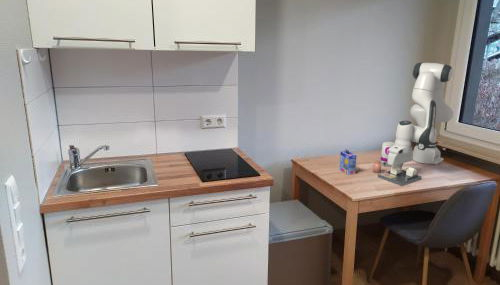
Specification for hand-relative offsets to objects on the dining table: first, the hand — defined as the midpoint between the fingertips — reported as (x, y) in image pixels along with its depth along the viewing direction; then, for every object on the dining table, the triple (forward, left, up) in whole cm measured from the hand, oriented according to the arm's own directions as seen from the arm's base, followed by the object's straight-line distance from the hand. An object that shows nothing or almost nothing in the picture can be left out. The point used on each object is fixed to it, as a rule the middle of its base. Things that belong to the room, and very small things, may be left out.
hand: (398, 170), depth 221 cm
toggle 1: (+3, 0, -2) cm, 4 cm away
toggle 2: (-2, +7, -2) cm, 7 cm away
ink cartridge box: (+22, -21, -4) cm, 31 cm away
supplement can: (-12, -17, -4) cm, 21 cm away
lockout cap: (+6, -11, -4) cm, 13 cm away
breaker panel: (+3, +3, -4) cm, 6 cm away
